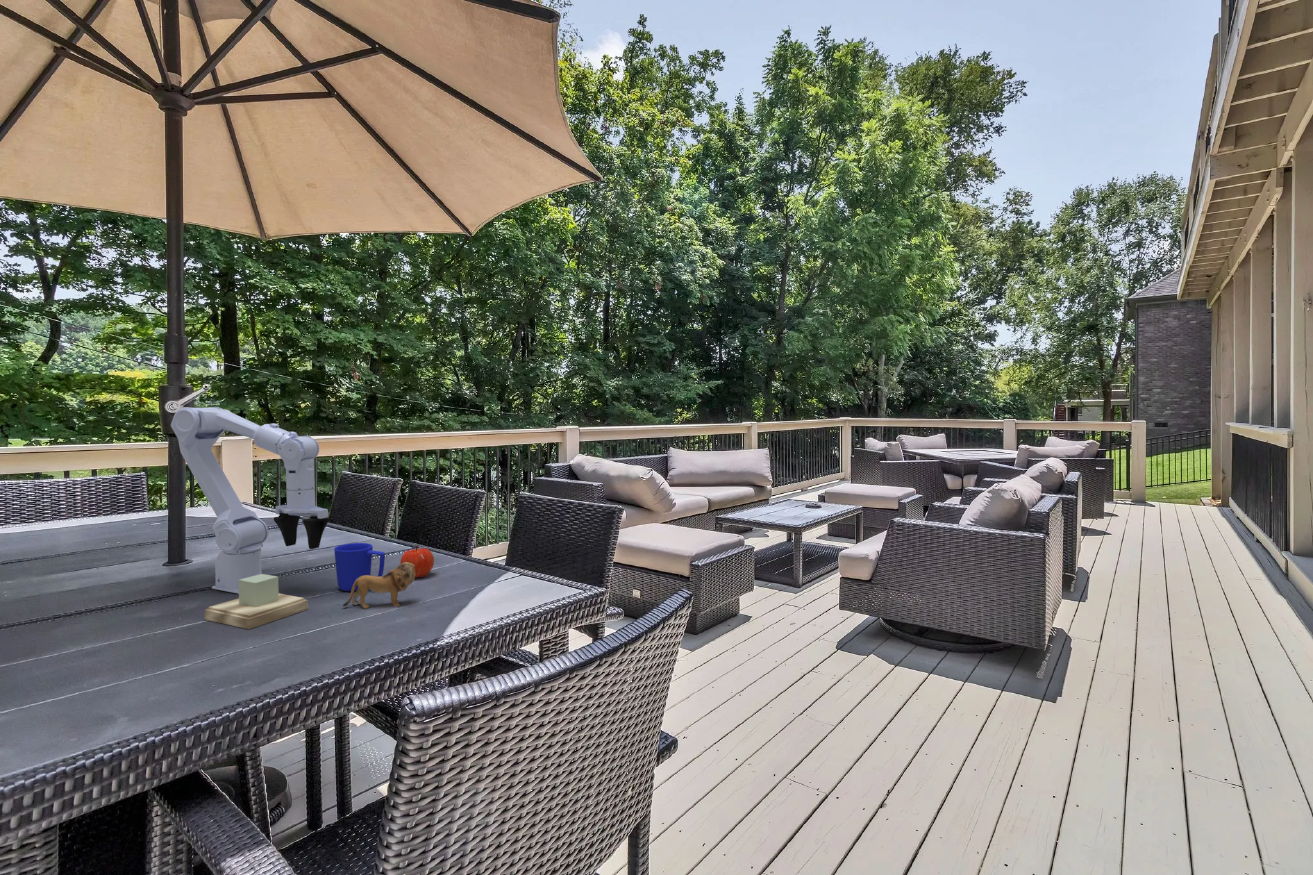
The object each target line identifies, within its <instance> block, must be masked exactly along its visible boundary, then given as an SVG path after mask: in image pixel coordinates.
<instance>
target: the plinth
mask: <svg viewBox="0 0 1313 875" xmlns="http://www.w3.org/2000/svg"><path fill="white" fill-rule="evenodd" d="M307 610H309V600H308V599H305V597H301V596H299V597H298V596H296V595H295V596H294V595H289V594H284V593H280V592H279V600H277V601H274V602H271V603H268V604H264V605H261V606H258V607H252V606H248V605H243V604H239V597H238V598H235V599H231V600H229V601H224V602H221V603H218V604H214V605H210V606H208V608H206V609H204V620H205V621H209V622H214V623H219V624H224V625H228V626H232V627H238V628H240V629H241V628H242V629H245V630H246V629H247V630H251V629H254V628H257V627H260V626H263V625H266V624H269V623H271V622H275V621H277V620H281V619H284V618H287V617H289V616H292V615H296V614H299V613H301V612H304V611H307Z"/></svg>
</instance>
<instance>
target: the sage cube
mask: <svg viewBox="0 0 1313 875" xmlns="http://www.w3.org/2000/svg"><path fill="white" fill-rule="evenodd" d="M279 593H280V592H279V576H275V575H271V574H265V573H262V574H259V575H255V576H252V577H248V578H244V579H240V580H239V593H238V598H239V604H243V605H248V606H252V607H258V606H261V605H264V604H268V603H271V602H274V601H277V600H279Z"/></svg>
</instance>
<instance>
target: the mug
mask: <svg viewBox="0 0 1313 875" xmlns="http://www.w3.org/2000/svg"><path fill="white" fill-rule="evenodd" d="M373 547H374V546H373V544H371V543H366V542H354V543H353V542H351V543H346V544H345V543H344V544H340V545H337V546H335V547H334V549H333V550H334V562H335V571H336V582H337V587H338V588H339V590H341V591H344V592H351V590H352V587H353V584H354V582H355V581H356V580H357V579H358V578H359V577H361V576H365V575H369V576H372V575H371V573H372V571H371V570H372V561H373V560H372V559H373V555H377V556H379V568H378V575H377V577H382V576H384V570H385V569H384V568H385V560H386V553H385V552H384V551H379V550H373ZM357 589H358V585H356V588H355V591H354V592H356V591H357Z"/></svg>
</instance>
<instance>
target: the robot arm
mask: <svg viewBox="0 0 1313 875" xmlns="http://www.w3.org/2000/svg"><path fill="white" fill-rule="evenodd" d="M170 427H171V429H172V431H173V432H174V434H175V436H176V438H177V442H178V446H179V451H180V454H181V455H182V458H183V459H184V461H185V463H186V465H187V467H188V468H189V470H190V471H191V474H192V475H193V477H194V479H195V480H196V482H197V484H198V486H199V487H200V489H201V491H202V494H203V495H204V496H205V497H206V498H205V499H207V501H208V504H209V505H210V507H211V508H212V510H213V512H214V514H215V516H216V517H217V518H216V520H215V522H214V524H213V525H212V527H211V529H212V530H213V532H214V535H215V543H216V545H217V547H218V548H219V549H220V550H221V551H220V552H219V553H218V555H217V556H216V558H215V560H214V562H215V563H214V565H215V566H214V570H215V571H214V572H215V573H214V574H215V575H214V576H215V585H213V586H211V589H213V590H217V591H218V590H219V591H223V592H228V593H233V594H239V580H240V579H244V578H248V577H252V576H255V575H259V574H263V573H262V548H263V547H264V542H266V541H267V539H268V536H269V527H268V525H267V524H266V523H265V521H264V520H262V519H260V518H259V517H258V515H257V513H256V512H255V511H254V510H251V509H249V508H246V507H245V506H244V505H243V504H242V502H241V500H240V499H239V498H240V497H238V494H237V493H236V491H235V490H234V488H233V487H232V485H231V483H230V480H229V479H228V477H227V475H226V474H225V471H223V468H222V467H221V465H220V463H219V462H218V459H217V458H216V456H215V454H214V453H213V451H212V448H213V446H214V445H215V444H216V443H217V441H218V440H219V439H220V437H221V436H222V435H223V434H224V432H225V430H226V431H228V432H231V433H234V434H238V435H240V436H243V437H245V438H249V439H252V440H253V442H254V444H255V446H257V448H260V449H262V450H265V451H268V452H270V453H273V454H275V455H278V456H280V459H281V460H282V462H283V466H284V467H283V468H284V469H285V482H286V483H285V484H286V491H285V492H286V504H281V505H276V506H275V515H278V516H275V517H273V522H274V523H275V524H276V525H277V527H278V529H279V531H280V533H281V536H282V538H283V541H284V544H285V547H291V546H295V545H297V539H298V538H297V537H298V536H297V535H298V526H299V521H300V519H301V517H309V518H305V519H304V518H303V519H302V520H301V521H302V524H303V526H304V528H305V532H306V536H307V545H308V549H309V550H315V549H319V548H320V546H321V541H322V538H323V535H324V531H325V529H326V526H328V523H329V522H330V517H329V510H328V508H322V507H320V506H316V488H315V484H316V482H315V459H316V458H317V457H318V455H319V452H320V444H319V443H318V441H317V440H316V438H315V439H314V438H313V437H312V436H311V435H304V436H303V435H301V436H299V435H298V433H297V432H295V431H287V430H285V429H283V428H280V425H279V424H277V423H274V422H273V423H266V424H263V425H259V424H257V423H255V422H253V421H251V420H248V419H246V418H244V417H241V416H239V415H237V414H236V413H233V412H231V410H230V409H229V410H228V409H225V408H224V409H223V407H222V408H221V407H218V406H211V407H189V406H187V407H186V406H185V407H184V406H183V407H181V408H178V409H177V410H176V412H175V413H174V415H173V418H172V421H171V423H170Z"/></svg>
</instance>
